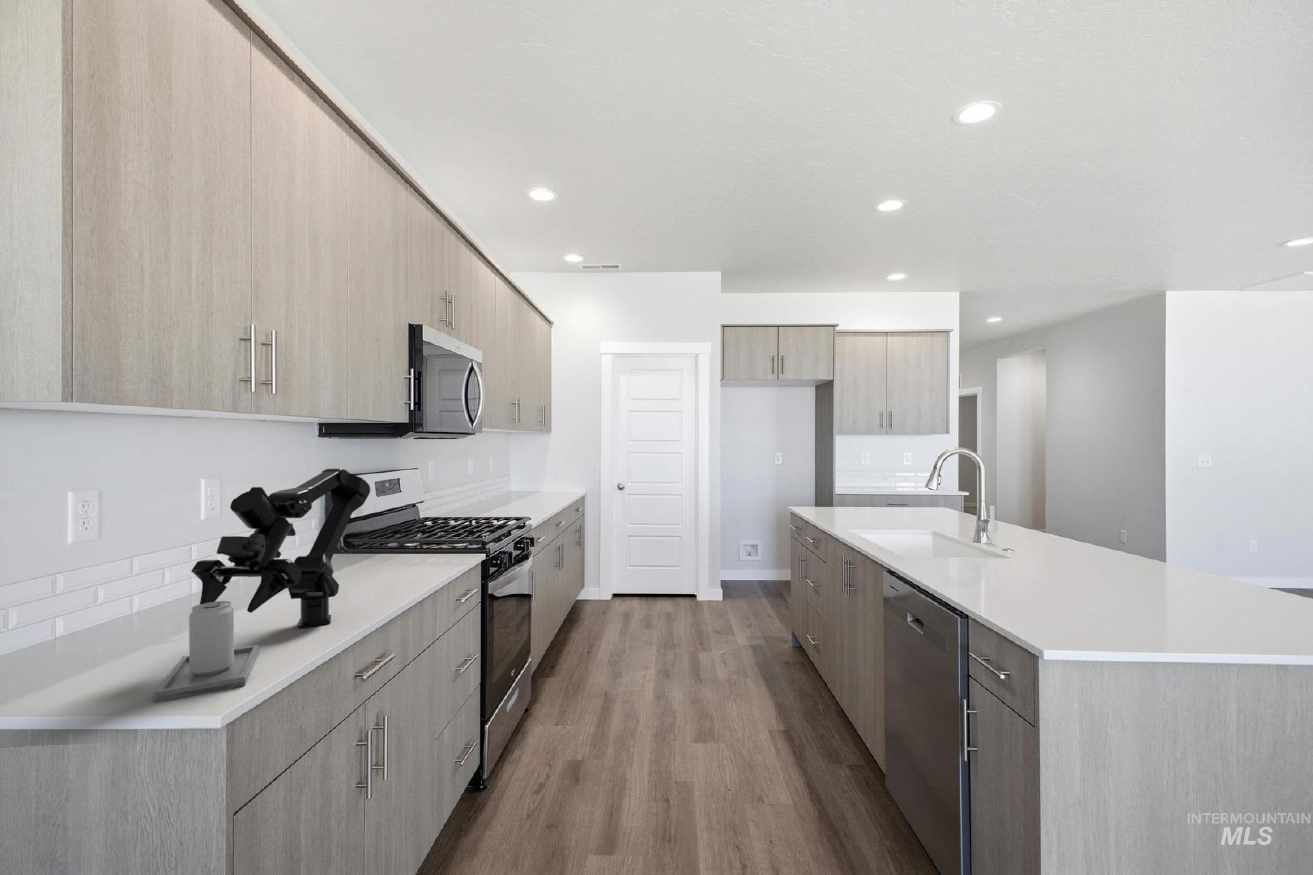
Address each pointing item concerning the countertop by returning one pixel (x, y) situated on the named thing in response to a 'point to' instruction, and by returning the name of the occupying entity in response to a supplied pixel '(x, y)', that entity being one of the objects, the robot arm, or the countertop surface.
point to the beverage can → (211, 638)
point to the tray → (207, 677)
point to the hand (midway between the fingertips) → (225, 611)
